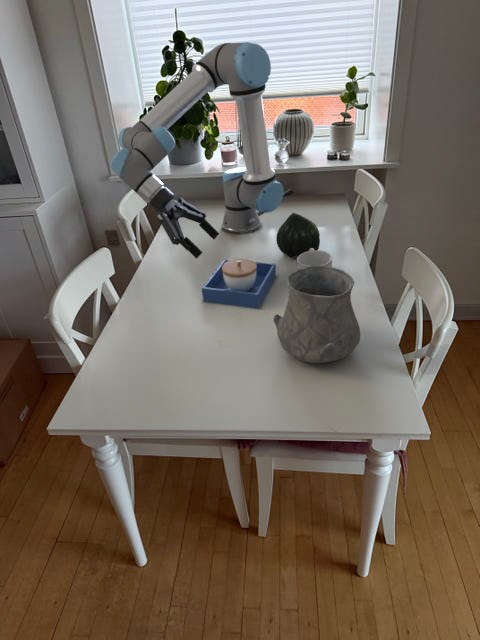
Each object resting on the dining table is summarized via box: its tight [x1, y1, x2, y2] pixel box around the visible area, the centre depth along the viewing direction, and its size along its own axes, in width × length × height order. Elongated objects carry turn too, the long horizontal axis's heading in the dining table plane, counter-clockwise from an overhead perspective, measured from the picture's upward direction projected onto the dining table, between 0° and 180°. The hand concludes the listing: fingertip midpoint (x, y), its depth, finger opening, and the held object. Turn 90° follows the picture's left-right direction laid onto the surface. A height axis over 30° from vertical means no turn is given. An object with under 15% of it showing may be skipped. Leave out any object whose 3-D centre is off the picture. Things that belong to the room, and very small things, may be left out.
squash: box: [275, 212, 321, 259], centre depth 157 cm, size 14×15×15 cm
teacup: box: [296, 248, 333, 270], centre depth 143 cm, size 14×11×8 cm
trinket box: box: [222, 258, 257, 292], centre depth 140 cm, size 11×11×9 cm
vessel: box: [273, 266, 361, 364], centre depth 110 cm, size 22×22×20 cm
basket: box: [201, 258, 277, 310], centre depth 141 cm, size 20×18×5 cm
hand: (208, 245), depth 137 cm, fingers open, 13 cm apart
